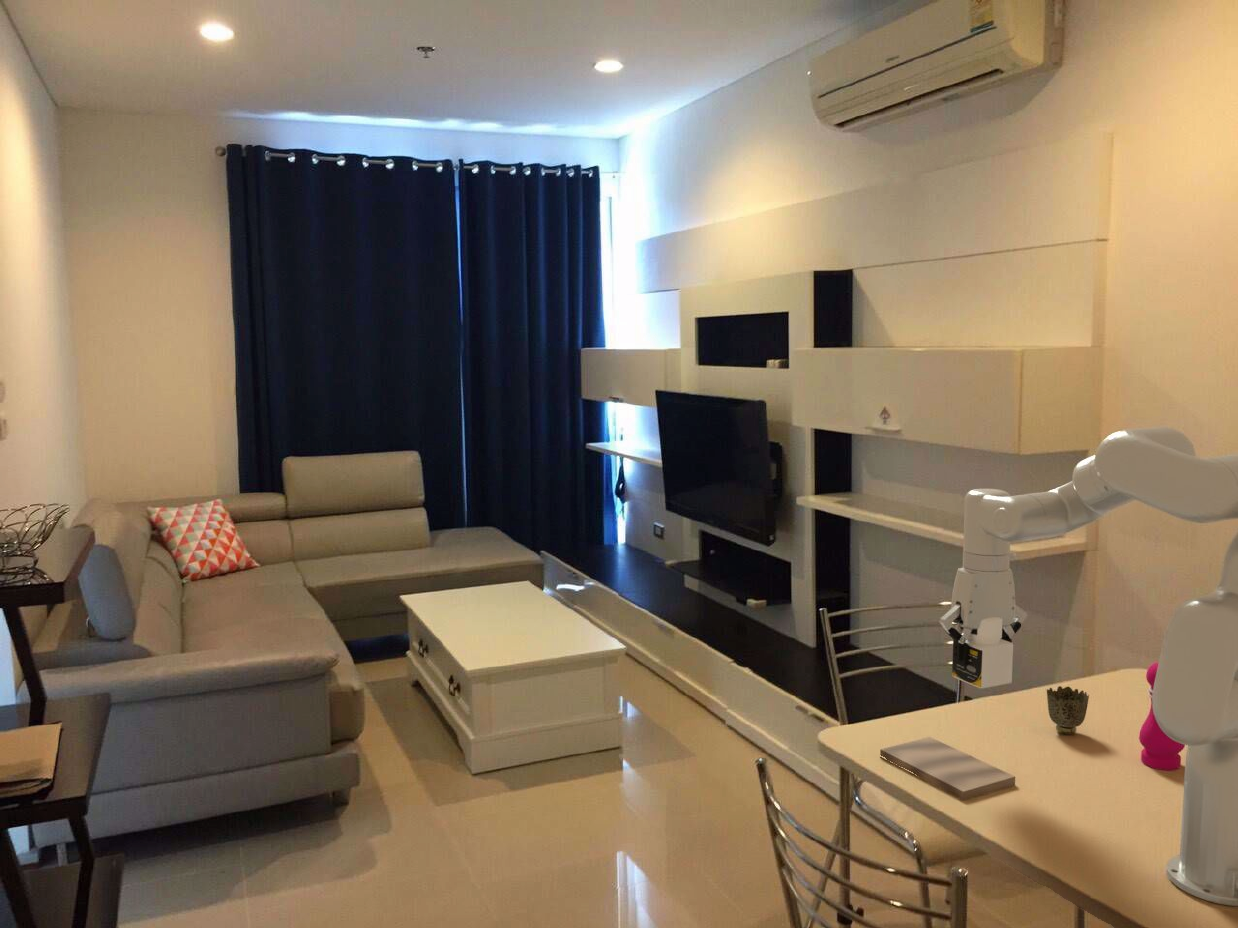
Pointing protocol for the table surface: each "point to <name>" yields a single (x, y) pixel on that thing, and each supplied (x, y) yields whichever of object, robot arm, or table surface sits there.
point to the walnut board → (948, 768)
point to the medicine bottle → (986, 656)
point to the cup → (1067, 708)
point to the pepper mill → (1157, 737)
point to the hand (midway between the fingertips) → (982, 660)
